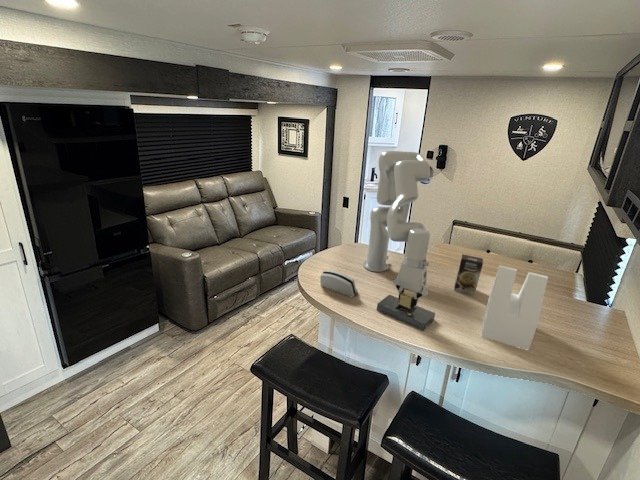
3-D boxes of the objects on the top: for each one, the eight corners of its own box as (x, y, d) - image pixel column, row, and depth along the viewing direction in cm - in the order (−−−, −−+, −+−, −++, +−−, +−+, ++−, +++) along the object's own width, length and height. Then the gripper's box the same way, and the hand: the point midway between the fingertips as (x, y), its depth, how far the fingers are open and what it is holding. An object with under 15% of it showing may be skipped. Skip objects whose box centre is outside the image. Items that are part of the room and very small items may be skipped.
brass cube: (404, 299, 140) (405, 289, 138) (414, 303, 137) (416, 293, 136) (399, 304, 137) (400, 294, 135) (409, 308, 134) (411, 298, 132)
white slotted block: (485, 312, 145) (500, 257, 136) (526, 324, 139) (545, 267, 130) (481, 336, 129) (498, 276, 120) (528, 351, 123) (549, 288, 114)
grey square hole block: (388, 300, 149) (389, 294, 147) (433, 319, 137) (435, 313, 136) (376, 310, 141) (377, 303, 140) (423, 330, 130) (424, 324, 129)
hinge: (358, 292, 154) (357, 276, 147) (353, 299, 151) (352, 283, 144) (325, 280, 161) (323, 265, 155) (320, 287, 158) (317, 271, 152)
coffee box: (453, 290, 161) (461, 258, 155) (454, 284, 166) (461, 253, 160) (474, 295, 158) (483, 263, 152) (474, 289, 163) (482, 257, 157)
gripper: (440, 265, 129) (431, 308, 135) (398, 252, 138) (392, 292, 145) (432, 271, 123) (423, 316, 130) (389, 257, 133) (383, 299, 139)
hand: (407, 303), depth 137 cm, fingers closed on brass cube, 4 cm apart
